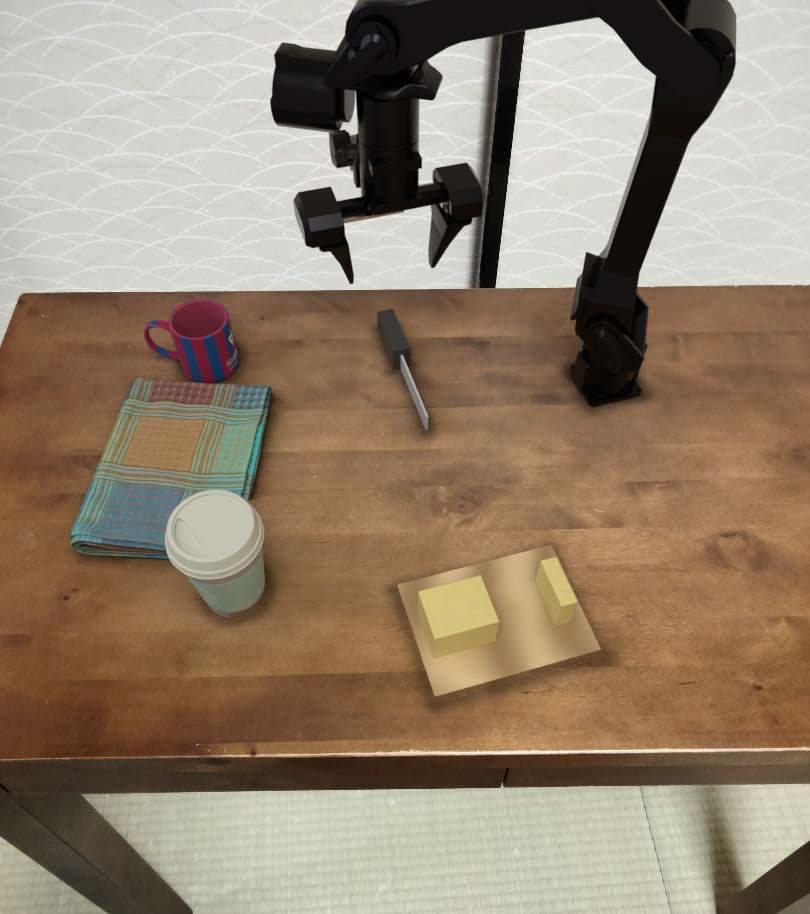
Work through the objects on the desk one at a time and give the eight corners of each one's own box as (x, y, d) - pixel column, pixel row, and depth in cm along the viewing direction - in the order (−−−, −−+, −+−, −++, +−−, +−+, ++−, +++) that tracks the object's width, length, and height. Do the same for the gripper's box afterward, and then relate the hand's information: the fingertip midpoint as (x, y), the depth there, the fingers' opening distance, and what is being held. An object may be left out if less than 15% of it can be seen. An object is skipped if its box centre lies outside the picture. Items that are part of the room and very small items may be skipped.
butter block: (477, 596, 78) (480, 574, 74) (495, 641, 75) (499, 621, 72) (417, 612, 77) (417, 591, 73) (433, 659, 74) (434, 639, 71)
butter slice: (550, 578, 79) (556, 556, 75) (570, 622, 76) (578, 601, 73) (534, 582, 78) (540, 560, 75) (554, 627, 76) (561, 606, 72)
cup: (231, 386, 95) (220, 342, 89) (148, 379, 95) (131, 334, 90) (244, 346, 98) (234, 301, 93) (164, 339, 99) (149, 294, 93)
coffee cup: (193, 558, 82) (163, 488, 71) (279, 551, 82) (260, 480, 72) (189, 635, 77) (156, 572, 67) (280, 627, 77) (260, 563, 67)
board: (549, 552, 82) (551, 544, 81) (598, 656, 76) (601, 649, 74) (397, 592, 80) (396, 584, 78) (434, 703, 73) (434, 696, 72)
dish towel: (69, 556, 82) (60, 542, 80) (131, 386, 95) (125, 370, 93) (237, 568, 81) (232, 555, 79) (277, 395, 94) (274, 379, 92)
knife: (393, 327, 100) (392, 308, 98) (435, 428, 91) (436, 409, 89) (377, 330, 100) (376, 311, 97) (418, 432, 91) (418, 413, 88)
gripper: (456, 77, 82) (449, 214, 95) (272, 106, 79) (292, 244, 92) (494, 136, 76) (481, 275, 89) (297, 170, 73) (314, 308, 86)
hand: (391, 273), depth 89 cm, fingers open, 9 cm apart
